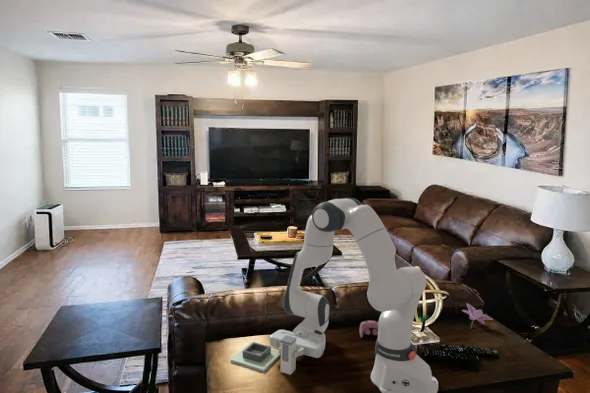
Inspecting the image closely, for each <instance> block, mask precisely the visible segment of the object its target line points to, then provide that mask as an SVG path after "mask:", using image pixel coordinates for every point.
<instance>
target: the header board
mask: <svg viewBox="0 0 590 393" xmlns="http://www.w3.org/2000/svg"><path fill="white" fill-rule="evenodd" d="M279 358H281V353H279V349H277V348H273V347H271V345H270V346H268V345H266V344H262V343H258V342H254V341H253V342H252V341H251V342H249V343H248V344H247V345H246V346H244V347H243V348H241V350H240V351H238V352H237V353H236V354H235V355H234V356H232V357H231V358H230V363H232V362H233V363H232V364H236V363H237V365H239V364H240V365H239V366H242V365H243V367H245V366H246V367H245V368H248V367H249V369H252V370H255V371H259V372H262V373H265V372H266V371H267V370H268V369H269V368H270V366H271V365H273V364H274V363H275V362H276V360H278V359H279Z"/></svg>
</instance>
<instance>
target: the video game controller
mask: <svg viewBox="0 0 590 393" xmlns="http://www.w3.org/2000/svg"><path fill="white" fill-rule="evenodd" d="M378 326H379V321H376V320H364V321H362V322H360V324H359V329H358V330H359V336H360V338H361V339H362V338H363V336H364V334H365V335H367V336H368V335H370V334H371V330H370V329H372V334H373V336H378Z"/></svg>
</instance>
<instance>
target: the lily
mask: <svg viewBox="0 0 590 393" xmlns="http://www.w3.org/2000/svg"><path fill="white" fill-rule="evenodd" d="M466 307H467V309H468V310H467V309H462V310H461V311H462V312H463V313H465V314H467V315H469V319H470V321H471V324H470V325H471V326H470V329H472V328H473V324H474V321H475V320H477V321H479V322H480V323H481V324H482V325H483V326H486V323H485V321H484V320H488V321H489V320H490V321H493V318H492V317H490V316H488V315H487V314H484V313H483V310H482V309H476V308H475V307H474V306H472V305H471V304H469V303H466Z"/></svg>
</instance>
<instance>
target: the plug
mask: <svg viewBox="0 0 590 393" xmlns="http://www.w3.org/2000/svg"><path fill="white" fill-rule="evenodd" d="M294 350H295V351H296V338H295V337H291V336H287V335H286V336H285V337H284V338H283V339H282V340H281V356H280V367H279V368H280V371H279V372H280V373H282V374H283V373H284V374H286V375H289V376H291V375H292V374H293V373H294V372H295V371H296V366H297V364H296V361H297V358H295V357H292V353H293V352H294Z"/></svg>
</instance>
